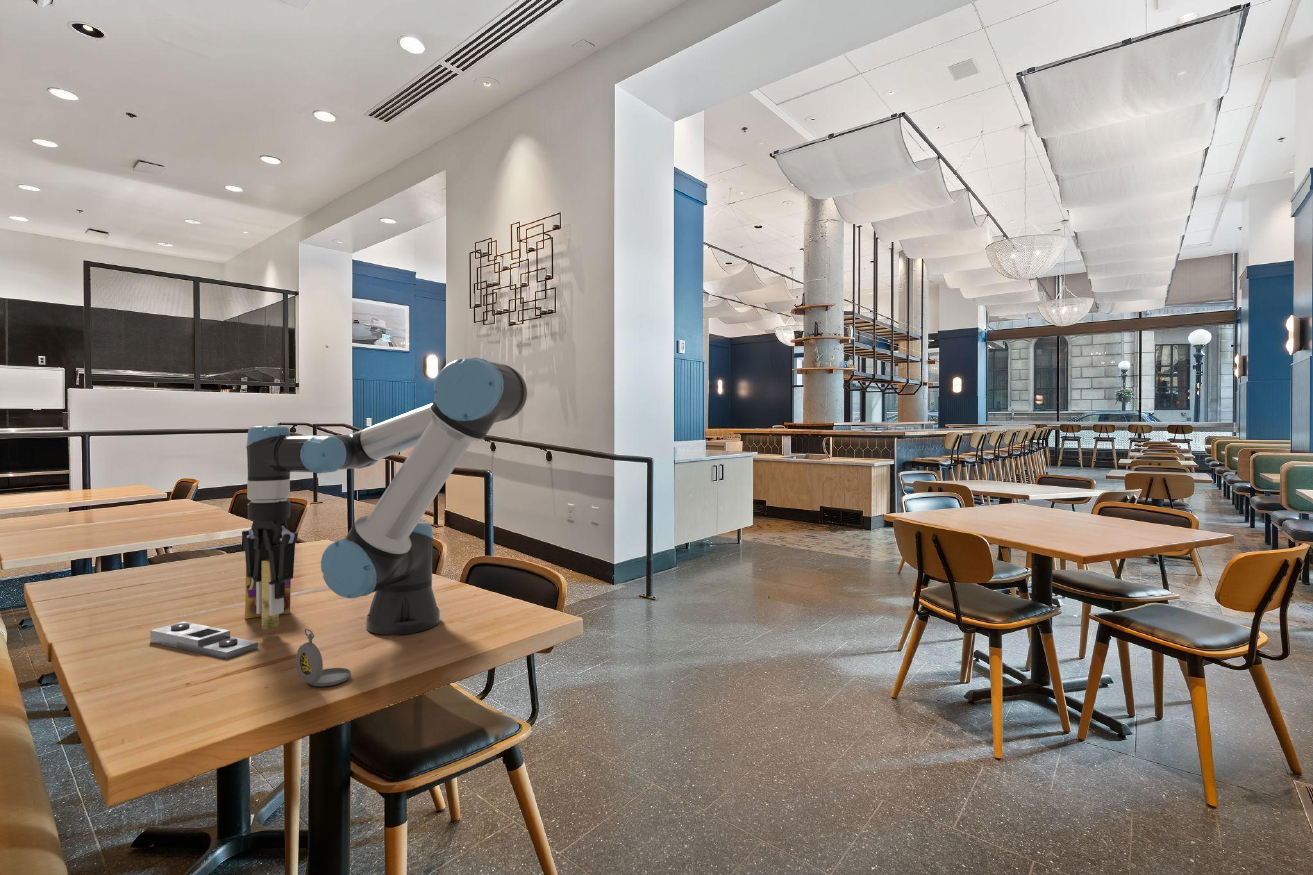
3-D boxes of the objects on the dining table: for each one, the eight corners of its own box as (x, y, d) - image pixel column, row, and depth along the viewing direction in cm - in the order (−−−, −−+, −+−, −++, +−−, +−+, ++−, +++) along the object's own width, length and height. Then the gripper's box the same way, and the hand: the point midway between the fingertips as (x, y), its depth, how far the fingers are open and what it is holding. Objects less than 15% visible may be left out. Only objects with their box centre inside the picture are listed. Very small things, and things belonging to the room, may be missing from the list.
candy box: (244, 619, 140) (245, 551, 140) (244, 614, 144) (245, 548, 143) (290, 613, 145) (291, 548, 145) (289, 609, 149) (290, 545, 148)
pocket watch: (357, 673, 112) (358, 617, 112) (334, 693, 104) (335, 633, 103) (310, 672, 112) (311, 617, 112) (284, 693, 103) (285, 632, 103)
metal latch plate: (258, 648, 123) (258, 632, 123) (226, 658, 117) (226, 642, 117) (183, 632, 131) (183, 618, 131) (150, 642, 125) (150, 627, 125)
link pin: (282, 625, 131) (281, 558, 131) (268, 629, 128) (268, 561, 128) (271, 623, 132) (271, 557, 132) (258, 628, 129) (257, 560, 129)
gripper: (313, 499, 130) (314, 612, 131) (258, 496, 136) (259, 604, 137) (280, 503, 123) (281, 622, 124) (224, 500, 129) (225, 613, 130)
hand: (270, 612), depth 130 cm, fingers closed on link pin, 3 cm apart
